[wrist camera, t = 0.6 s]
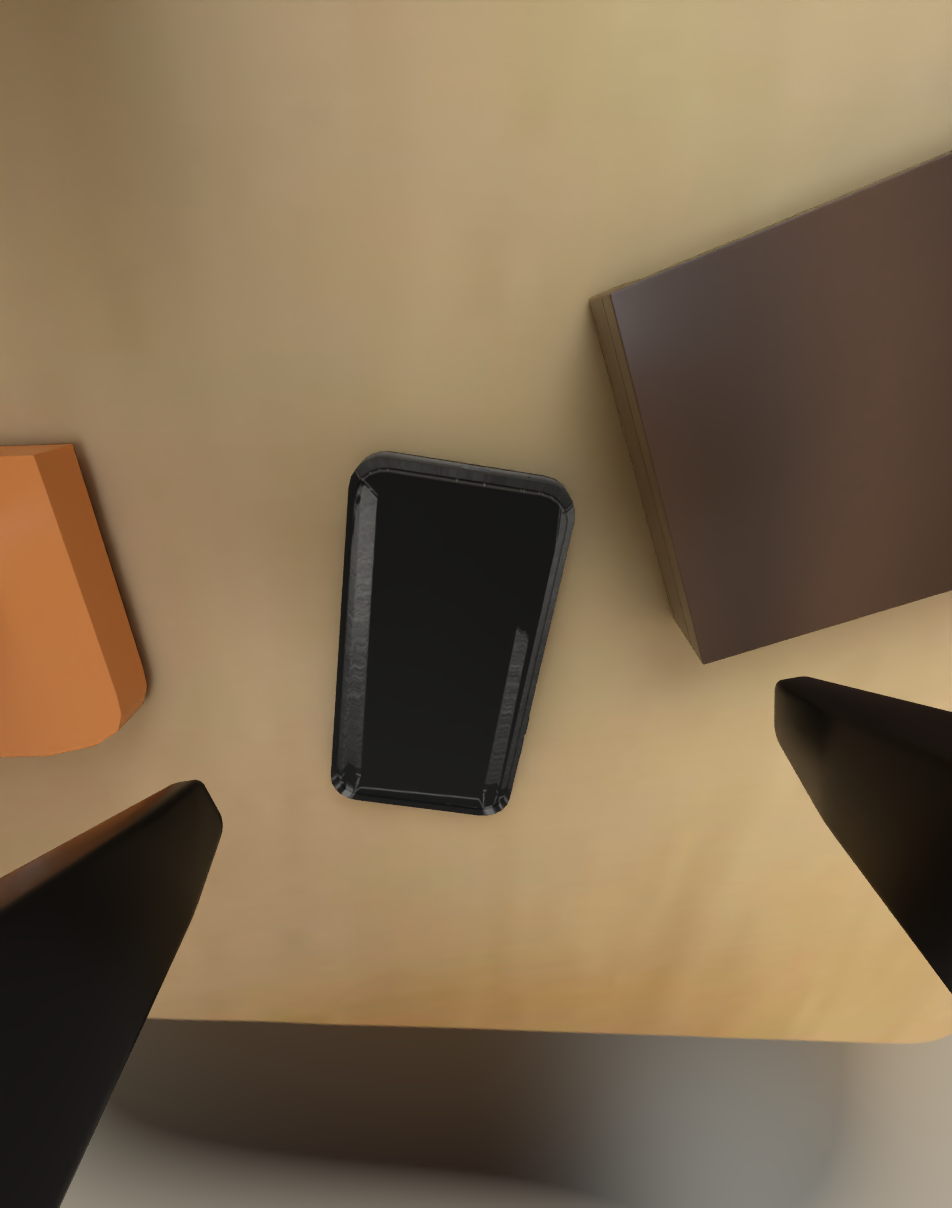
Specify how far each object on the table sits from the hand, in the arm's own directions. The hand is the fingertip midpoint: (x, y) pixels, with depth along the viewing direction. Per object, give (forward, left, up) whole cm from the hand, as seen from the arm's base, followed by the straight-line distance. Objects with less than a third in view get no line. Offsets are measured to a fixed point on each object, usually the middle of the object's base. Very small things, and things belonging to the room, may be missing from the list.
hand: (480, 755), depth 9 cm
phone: (+5, -4, -14) cm, 15 cm away
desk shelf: (+1, +14, -14) cm, 20 cm away
